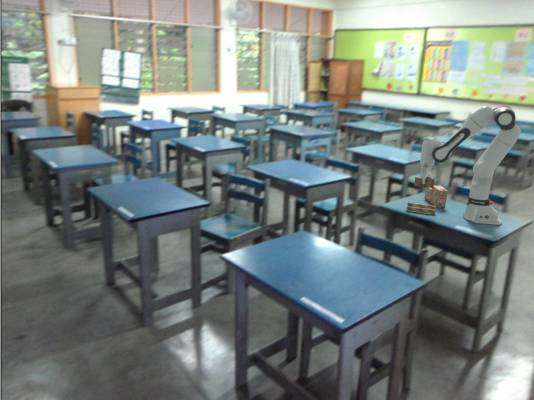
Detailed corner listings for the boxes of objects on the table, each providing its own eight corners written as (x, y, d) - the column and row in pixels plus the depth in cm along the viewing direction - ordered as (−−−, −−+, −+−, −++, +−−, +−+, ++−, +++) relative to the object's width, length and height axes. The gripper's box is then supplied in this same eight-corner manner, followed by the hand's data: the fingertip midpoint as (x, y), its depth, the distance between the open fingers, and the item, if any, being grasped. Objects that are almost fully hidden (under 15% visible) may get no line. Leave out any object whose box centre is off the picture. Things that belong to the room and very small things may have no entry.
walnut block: (414, 185, 292) (415, 177, 290) (414, 184, 295) (415, 175, 294) (433, 188, 288) (434, 179, 286) (433, 186, 291) (434, 177, 290)
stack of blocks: (424, 197, 324) (426, 181, 320) (432, 198, 324) (435, 181, 320) (436, 207, 304) (439, 190, 300) (445, 207, 304) (448, 190, 300)
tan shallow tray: (434, 210, 297) (435, 205, 296) (435, 214, 288) (435, 210, 287) (407, 206, 302) (407, 202, 301) (406, 210, 293) (407, 206, 292)
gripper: (429, 166, 277) (426, 187, 281) (434, 160, 294) (431, 180, 298) (419, 164, 279) (416, 185, 284) (424, 159, 297) (422, 178, 301)
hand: (424, 182), depth 291 cm, fingers closed on walnut block, 4 cm apart
